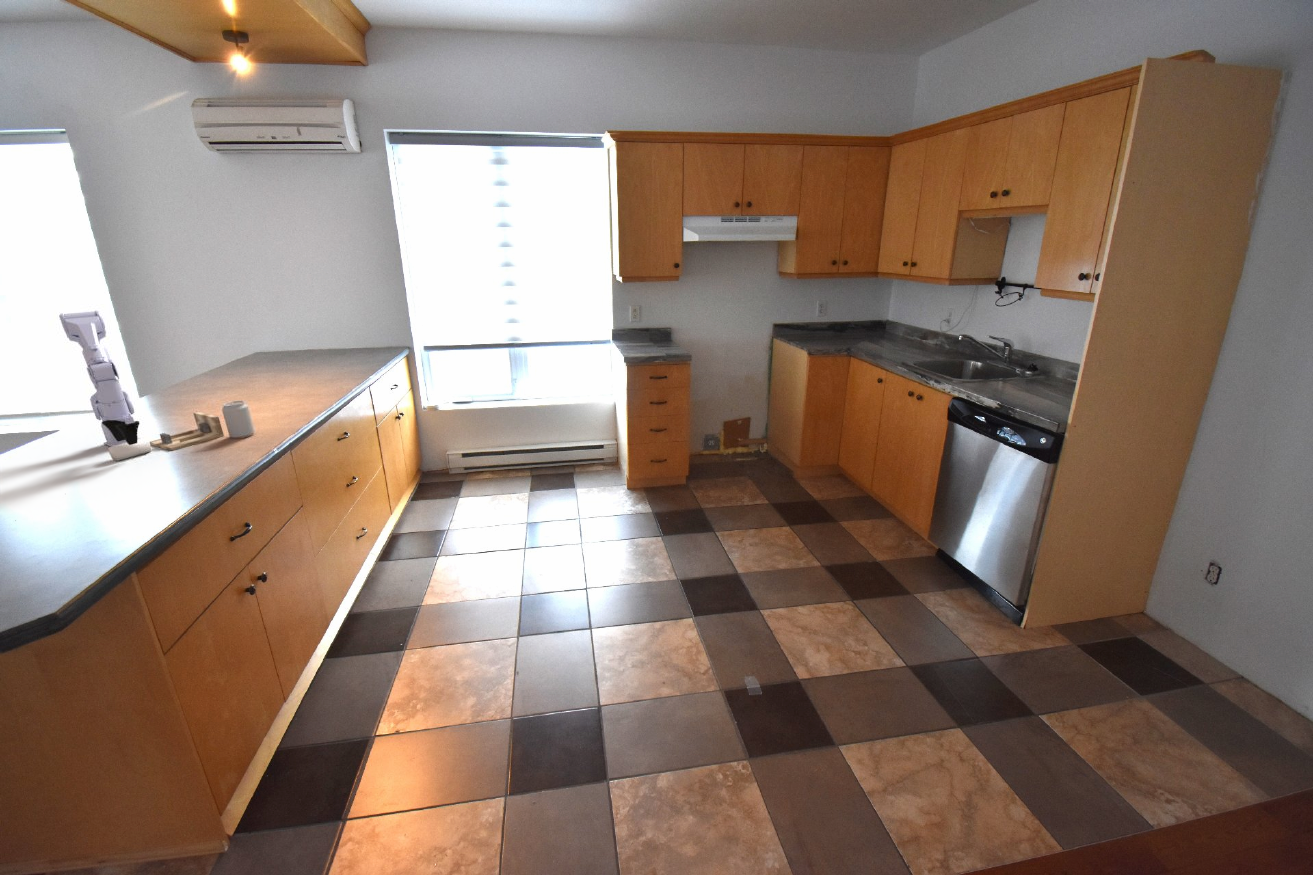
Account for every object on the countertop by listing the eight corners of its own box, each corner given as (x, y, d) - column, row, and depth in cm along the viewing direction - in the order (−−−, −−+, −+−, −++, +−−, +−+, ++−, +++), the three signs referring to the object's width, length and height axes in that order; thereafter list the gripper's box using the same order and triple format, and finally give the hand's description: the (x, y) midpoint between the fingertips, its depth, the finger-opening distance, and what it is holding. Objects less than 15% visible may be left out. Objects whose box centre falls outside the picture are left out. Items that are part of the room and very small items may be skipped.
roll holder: (150, 444, 201) (143, 425, 199) (202, 430, 214) (196, 411, 212) (171, 450, 195) (165, 430, 192) (224, 435, 208) (218, 416, 206)
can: (242, 439, 204) (233, 406, 199) (224, 438, 205) (214, 405, 201) (260, 432, 210) (251, 400, 206) (242, 431, 212) (233, 399, 208)
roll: (111, 459, 189) (106, 445, 187) (144, 449, 196) (140, 436, 194) (118, 462, 187) (114, 449, 185) (152, 453, 194) (148, 439, 192)
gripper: (86, 402, 185) (101, 442, 190) (108, 407, 178) (122, 449, 183) (114, 396, 191) (127, 436, 195) (136, 401, 184) (149, 442, 189)
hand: (127, 442), depth 190 cm, fingers open, 7 cm apart
